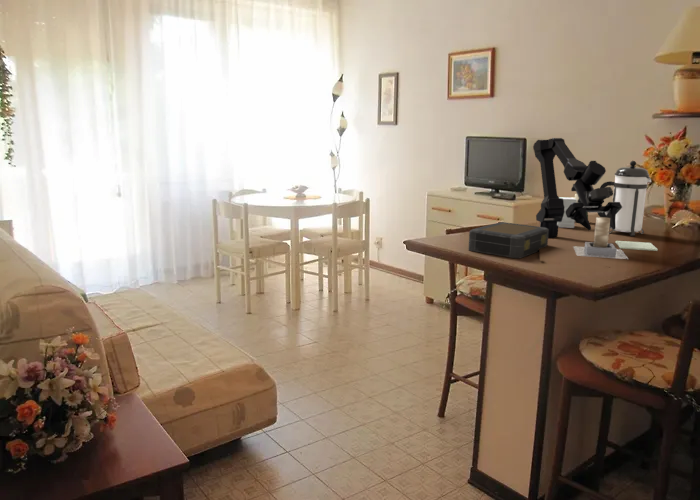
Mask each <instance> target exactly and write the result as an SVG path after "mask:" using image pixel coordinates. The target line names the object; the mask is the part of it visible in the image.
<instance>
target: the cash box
mask: <svg viewBox="0 0 700 500" xmlns="http://www.w3.org/2000/svg"><path fill="white" fill-rule="evenodd" d="M548 233H549V229H548V228H544V227H540V226H536V225H535V226H534V225H528V224H521V223H513V222H505V221H502V222H501V221H500V222H496V223H492V224H488V225H484V226H480V227H477V228H472V229H470V230H469V233H468V235H469V236H468V248H467V249H468V251H470V252H475V253H482V254H487V255H493V256H499V257H504V258H511V259H517V260H518V259H522V258H524V257H528V256H529V255H532V254H535V253H538V252H540V249H543V248H545V247H547V246H548V245H549V244H548V243H549V238H548Z"/></svg>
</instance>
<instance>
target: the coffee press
mask: <svg viewBox="0 0 700 500" xmlns="http://www.w3.org/2000/svg"><path fill="white" fill-rule="evenodd" d="M629 164H630V166H624V167H623V166H622V167H619V168H618V169H617V170H616V171H615V172H614V176H615V177H614V181H605V182H603V183H602V184H601V185H600V186H599V188H606V187H611V186H613V195H612V202H620V204H621V206H622V208H621V209H620V210H619V212H618V213H617V214H616V216H615V229H614V230H613V229H612V228H611V227H610V226H609V234H612V233H613V232H622V233H628V235H629V236H630V237H632V238H633V237H634V238H635V236H636V233H639V234H640V235H643V234H644V233H645V231H644V229H643V220H644V213H645V205H646V197H647V189H648V186H649V185H648V183H652V179H651V177H650V173H649V171H648V170H647V169H646V168H644V167H637V166H636V165H637V162H636V161H635V160H632V161H630V163H629ZM601 206H603V204H601ZM596 213H597V216H598V217H605V216H604V215H603V214H602V212H596ZM610 230H611V231H610Z"/></svg>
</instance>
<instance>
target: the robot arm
mask: <svg viewBox="0 0 700 500" xmlns="http://www.w3.org/2000/svg"><path fill="white" fill-rule="evenodd" d="M532 147H533V149H532V150H533V153H534V156H535V158H536V159H537V160H538V162H539V165H540V171H541V172H540V173H541V180H542V181H541V182H542V189H543V199H542V201H541V203H540V209H539V210H538V212H537V213H536V215H535V218H536V221H537V222H540V223H539V227H544V228H548V229H549V233H548V239H551V238H552V239H557V236H558V235H559V227H558V225H557V222H561V221H562V218H563V215H564V212H565V211H564V202H563V199H562V198H559V197H560V196H559V195H558V190H557V183H556V181H557V180H556V174H555V167H554V160H555V157H557V158H558V160H559V161H560V163H561V164H562V166H563V167H564V169H563V173H564V176H565V178H566V180H567V181H568V182H569V181H571V182H572V181H573V182H574V181H575V182H574V183H572V186H571V190H570V191H571V192H576V194H577V195H578V197H579V199H578V202H572V203H571V205H570V206H569V207H568V209H567V210H566V216H567V217H568V218H571V219H573V220H575V222H576V223H578V224H579V225H581V226H582V227H584V229H587V230H588V231H591V229H592V225H591V223H590V221H589V217H588V218H587V216H586V212H588V214H589V213H597V212H602V214H603V215H604V216H605V217H607V218H610V226H609V227H611V228H612V229H613V230H614V229H615V216H616V214H617V213H618V212H619V210H620V209H621V208H622V206H621V204H620V202H613V201H608V202H607V203H606V205H603V204H604V203H605V200H606V199H609V198H611V197H613V194H614V189H613V188H612V187H611V186H607V187H606V188H600V187H598V188H594V186H596V185H597V184H598V183H599V181H600V180H601V179H602V178H603V176H604V175H605V174H606V172H607V170H606V167H604V165H602V164H601V163H598V162H597V160H590V161H589V162H588V164H587V165H586V163H584V162H583V161H581V160H580V159H577V158H576V157H575V155H574V154H573V152H572V150H570V148H569V147H568V145H567V144H566V142H565V139H564V138H562V137H552V138H549V139H537V140H536V141H535V142H534V144H533V146H532ZM601 204H602V206H601ZM612 229H611V230H612Z"/></svg>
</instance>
